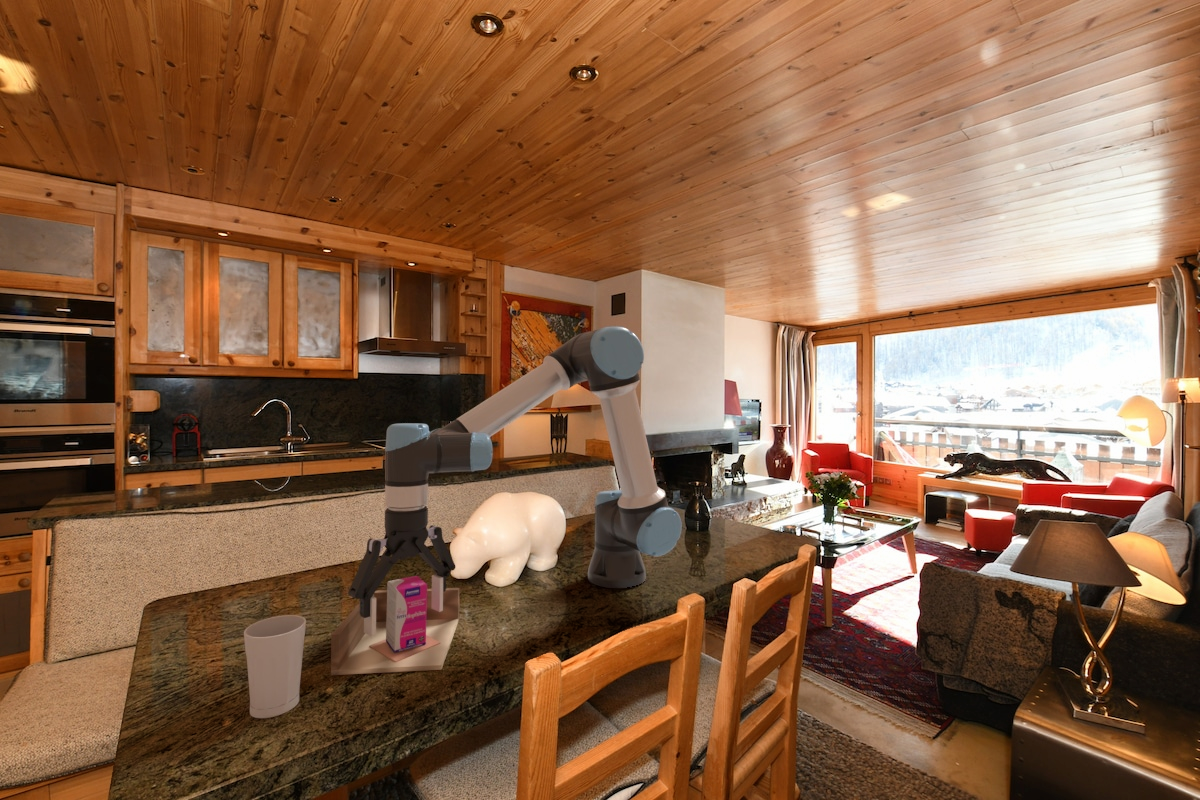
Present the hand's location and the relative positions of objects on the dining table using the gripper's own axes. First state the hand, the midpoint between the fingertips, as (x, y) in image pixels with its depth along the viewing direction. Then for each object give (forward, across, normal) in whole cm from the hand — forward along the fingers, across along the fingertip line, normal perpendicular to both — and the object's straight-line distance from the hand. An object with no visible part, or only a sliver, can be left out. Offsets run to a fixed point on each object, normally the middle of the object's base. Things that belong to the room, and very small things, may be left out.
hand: (405, 621), depth 95 cm
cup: (+5, +22, +1) cm, 23 cm away
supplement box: (+4, 0, 0) cm, 4 cm away
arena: (+5, -1, -2) cm, 6 cm away
